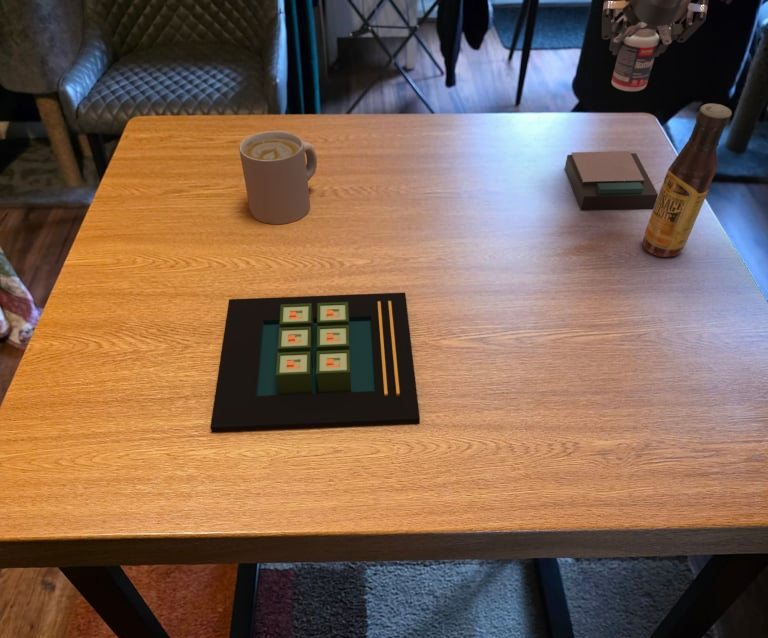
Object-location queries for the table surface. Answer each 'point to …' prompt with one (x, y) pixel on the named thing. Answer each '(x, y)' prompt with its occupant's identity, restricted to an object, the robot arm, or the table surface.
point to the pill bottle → (635, 60)
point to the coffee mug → (277, 175)
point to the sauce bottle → (686, 184)
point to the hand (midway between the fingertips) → (635, 48)
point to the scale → (609, 181)
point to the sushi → (315, 363)
